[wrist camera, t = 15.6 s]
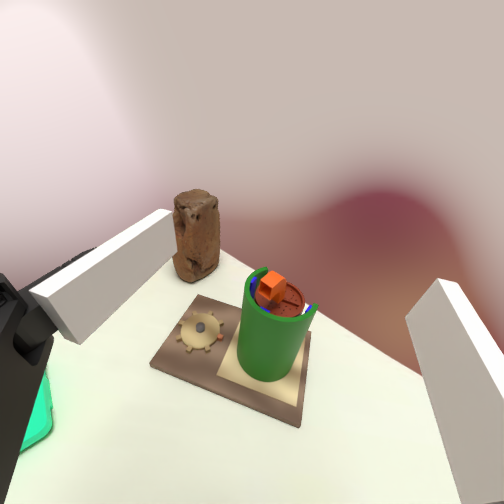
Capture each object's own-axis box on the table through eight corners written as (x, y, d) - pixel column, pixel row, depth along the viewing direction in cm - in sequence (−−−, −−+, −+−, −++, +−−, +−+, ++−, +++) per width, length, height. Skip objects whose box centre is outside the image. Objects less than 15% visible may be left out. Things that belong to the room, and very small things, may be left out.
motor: (299, 350, 40) (335, 268, 28) (277, 396, 33) (312, 315, 21) (252, 322, 44) (266, 238, 32) (224, 358, 37) (229, 271, 25)
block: (201, 254, 61) (198, 184, 49) (222, 265, 58) (224, 194, 46) (170, 275, 54) (157, 198, 42) (193, 289, 51) (186, 211, 39)
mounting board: (298, 428, 32) (304, 420, 30) (150, 366, 36) (146, 356, 34) (309, 335, 44) (314, 325, 42) (198, 298, 49) (197, 288, 47)
